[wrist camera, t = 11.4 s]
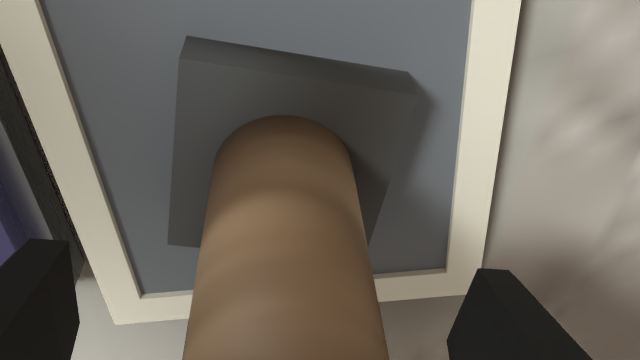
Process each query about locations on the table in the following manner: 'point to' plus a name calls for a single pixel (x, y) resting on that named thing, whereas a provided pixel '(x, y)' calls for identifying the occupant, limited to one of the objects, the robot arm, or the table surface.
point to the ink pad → (26, 186)
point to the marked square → (277, 34)
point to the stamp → (283, 199)
